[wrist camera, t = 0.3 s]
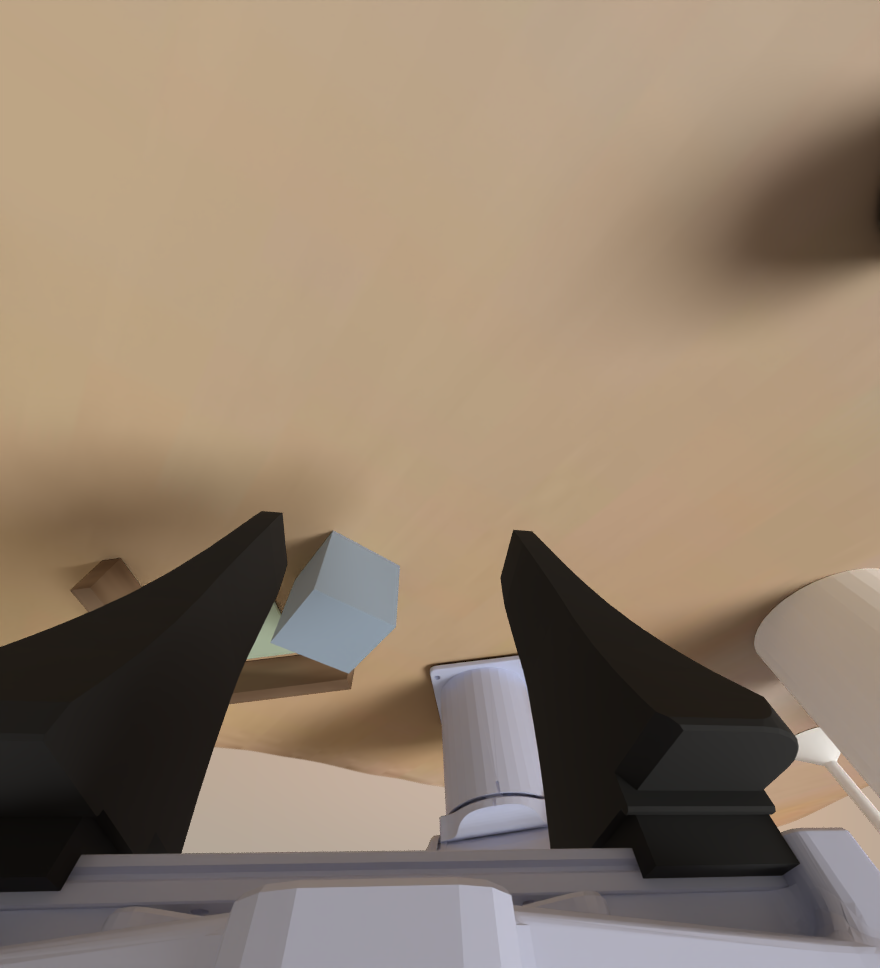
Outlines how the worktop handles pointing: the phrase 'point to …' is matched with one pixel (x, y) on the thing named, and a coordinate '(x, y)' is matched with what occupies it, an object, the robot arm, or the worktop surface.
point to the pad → (268, 637)
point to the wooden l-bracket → (255, 676)
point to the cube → (340, 605)
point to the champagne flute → (834, 768)
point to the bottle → (832, 660)
